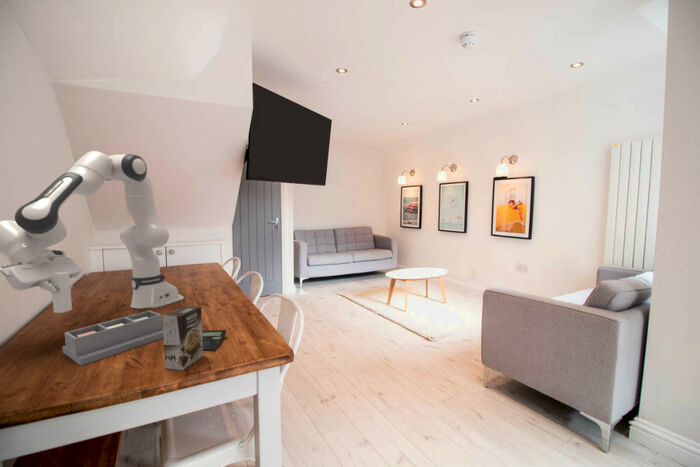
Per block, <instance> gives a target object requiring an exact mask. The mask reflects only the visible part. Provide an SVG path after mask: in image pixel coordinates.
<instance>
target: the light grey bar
mask: <svg viewBox="0 0 700 467" xmlns="http://www.w3.org/2000/svg"><path fill="white" fill-rule="evenodd" d="M70 283H71V279H70V276H69V272H58V273H53V274H51V283H50V285H52V286H57V287H58V288H59V291H58V292H57V293H54V294H52V293H51V295H52V306H53V307H52V308H53V313H59V314H60V313H61V314H62V313H66V312H70V311H72V310H73V306H72V295H71V294H72V293H71V292H72V291H71V289H72V288H71V289H70Z"/></svg>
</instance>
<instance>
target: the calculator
mask: <svg viewBox="0 0 700 467" xmlns="http://www.w3.org/2000/svg"><path fill="white" fill-rule="evenodd" d="M226 334H227V329H216V330H211V329H210V330H202V342H203V351H212V352H216V351H217V350H218V349H219V348H220V346H221V345H222V344H223V342H224V340H225V336H226ZM222 341H223V342H222ZM220 344H221V345H220ZM219 345H220V346H219ZM216 349H217V350H216ZM215 350H216V351H215Z"/></svg>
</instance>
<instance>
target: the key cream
mask: <svg viewBox="0 0 700 467" xmlns="http://www.w3.org/2000/svg"><path fill="white" fill-rule="evenodd" d="M121 325H125V324H122V323H121V324H117V325H114V326H110V327H106V328H108V329H110V328H114V327H117V326H121Z"/></svg>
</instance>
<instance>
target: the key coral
mask: <svg viewBox="0 0 700 467" xmlns="http://www.w3.org/2000/svg"><path fill="white" fill-rule="evenodd" d="M92 333H95V331H91V332H88V333H84V334H80V335H76V338H77V337H81V336H85V335H88V334H92Z"/></svg>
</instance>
